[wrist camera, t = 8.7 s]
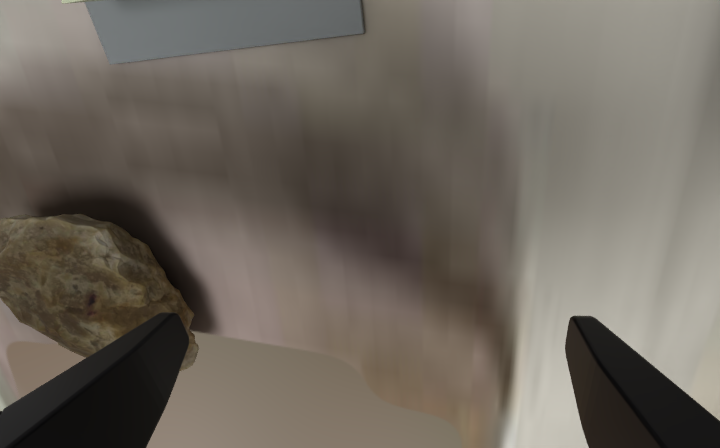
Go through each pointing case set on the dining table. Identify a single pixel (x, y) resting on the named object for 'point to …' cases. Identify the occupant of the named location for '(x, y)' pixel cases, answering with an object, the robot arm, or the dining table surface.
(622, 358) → the robot arm
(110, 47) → the build mat
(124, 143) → the dining table surface
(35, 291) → the stone
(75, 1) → the base block
